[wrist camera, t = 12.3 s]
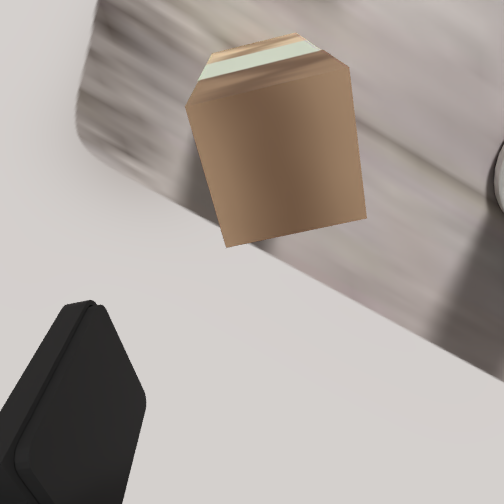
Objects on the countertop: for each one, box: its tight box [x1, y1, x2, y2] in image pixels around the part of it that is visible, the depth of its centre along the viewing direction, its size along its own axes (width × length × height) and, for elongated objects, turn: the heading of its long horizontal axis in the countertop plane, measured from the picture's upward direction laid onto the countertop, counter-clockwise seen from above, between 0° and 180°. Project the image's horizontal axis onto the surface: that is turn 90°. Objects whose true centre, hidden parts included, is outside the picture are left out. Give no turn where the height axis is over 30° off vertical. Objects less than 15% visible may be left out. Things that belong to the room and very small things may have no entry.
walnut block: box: [185, 50, 367, 247], centre depth 21 cm, size 6×6×6 cm
